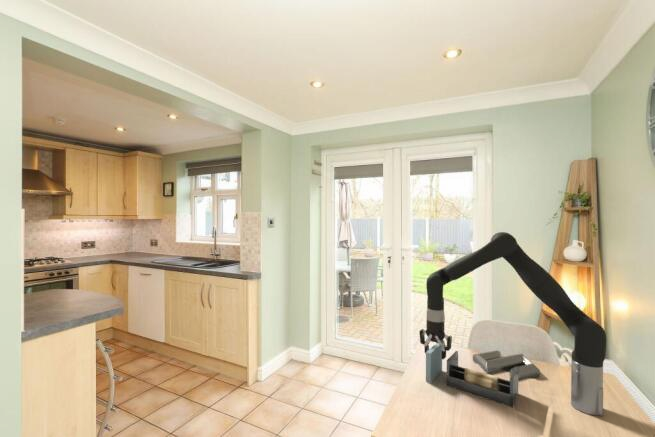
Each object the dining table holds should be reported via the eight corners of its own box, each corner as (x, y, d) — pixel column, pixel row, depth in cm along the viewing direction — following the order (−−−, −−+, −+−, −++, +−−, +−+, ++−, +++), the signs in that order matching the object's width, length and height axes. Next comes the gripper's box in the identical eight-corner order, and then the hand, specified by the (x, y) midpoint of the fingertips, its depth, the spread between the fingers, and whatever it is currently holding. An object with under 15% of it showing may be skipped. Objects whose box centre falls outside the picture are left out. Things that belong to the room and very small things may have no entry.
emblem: (479, 341, 171) (542, 355, 154) (479, 351, 171) (542, 366, 154) (465, 360, 149) (537, 378, 132) (465, 371, 149) (537, 391, 132)
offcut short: (492, 396, 125) (492, 380, 125) (491, 398, 124) (491, 383, 124) (468, 388, 131) (468, 373, 131) (466, 390, 129) (466, 375, 129)
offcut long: (498, 394, 126) (498, 377, 126) (496, 397, 124) (497, 379, 124) (465, 384, 134) (466, 368, 134) (464, 386, 132) (464, 369, 132)
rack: (518, 397, 127) (518, 367, 127) (512, 411, 118) (513, 379, 118) (455, 377, 142) (455, 350, 142) (446, 389, 133) (446, 360, 133)
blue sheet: (430, 386, 135) (430, 353, 135) (425, 385, 136) (425, 352, 136) (442, 374, 146) (442, 343, 146) (437, 372, 147) (437, 342, 147)
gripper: (416, 317, 143) (416, 354, 143) (449, 324, 134) (448, 364, 134) (423, 313, 149) (422, 349, 149) (454, 319, 140) (454, 358, 140)
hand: (435, 356), depth 142 cm, fingers open, 6 cm apart
